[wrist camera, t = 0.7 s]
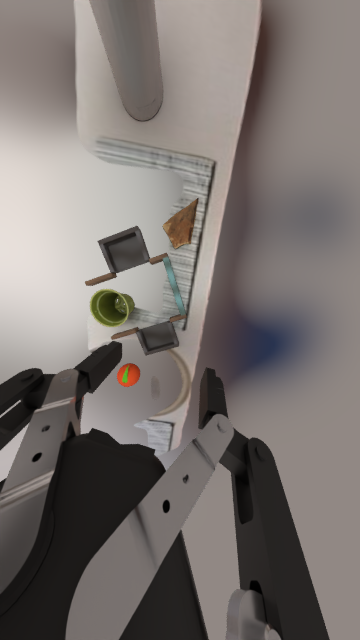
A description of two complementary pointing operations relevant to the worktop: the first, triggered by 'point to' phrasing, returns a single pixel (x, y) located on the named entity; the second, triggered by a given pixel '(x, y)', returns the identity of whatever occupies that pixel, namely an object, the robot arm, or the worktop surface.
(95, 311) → the plant pot
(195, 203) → the shard
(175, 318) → the two-trap channel
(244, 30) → the worktop surface
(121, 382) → the clementine
